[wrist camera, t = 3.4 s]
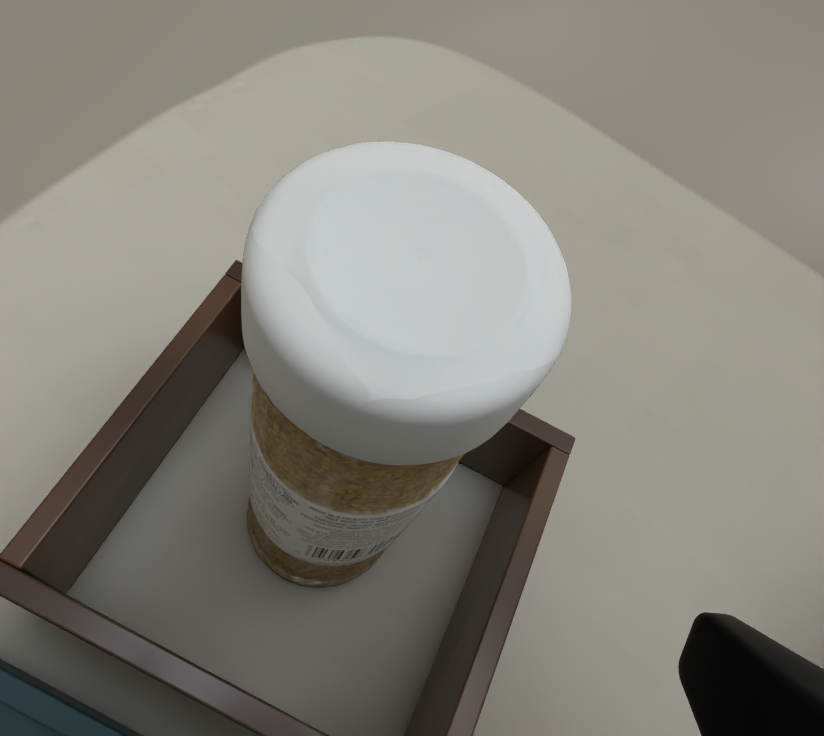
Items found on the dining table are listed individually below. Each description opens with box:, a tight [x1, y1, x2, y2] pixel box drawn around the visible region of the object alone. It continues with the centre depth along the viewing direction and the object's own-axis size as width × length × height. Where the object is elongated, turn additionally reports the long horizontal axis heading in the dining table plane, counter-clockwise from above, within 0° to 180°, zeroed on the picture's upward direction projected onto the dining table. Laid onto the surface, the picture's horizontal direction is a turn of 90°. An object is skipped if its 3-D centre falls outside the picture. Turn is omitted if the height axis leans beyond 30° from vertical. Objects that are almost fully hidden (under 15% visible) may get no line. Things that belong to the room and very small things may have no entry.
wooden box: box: [0, 260, 575, 736], centre depth 18 cm, size 10×11×4 cm
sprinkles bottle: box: [241, 141, 571, 587], centre depth 14 cm, size 5×5×14 cm
